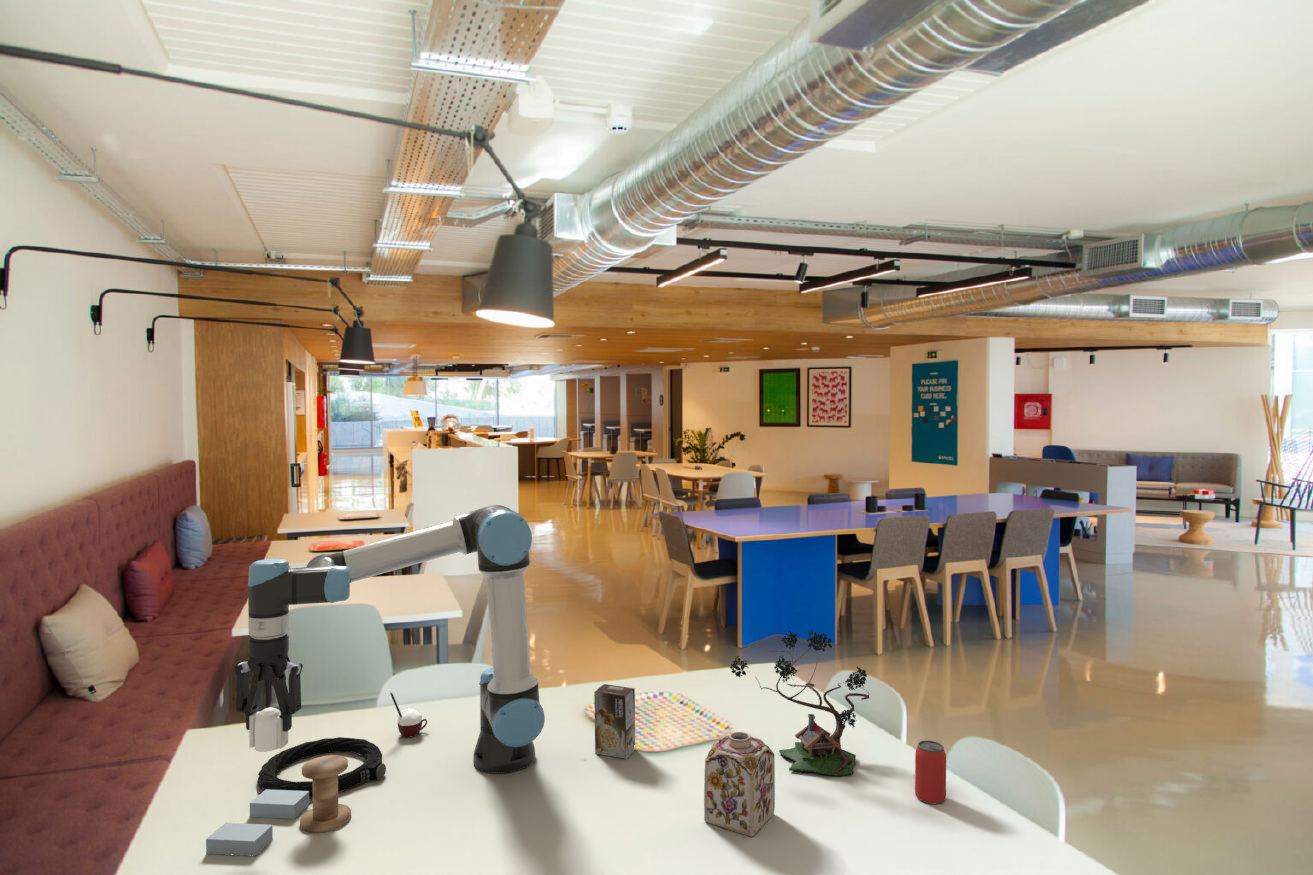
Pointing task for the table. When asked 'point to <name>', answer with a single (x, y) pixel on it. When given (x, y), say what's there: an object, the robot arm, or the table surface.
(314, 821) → the knob
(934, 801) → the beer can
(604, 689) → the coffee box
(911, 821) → the table surface
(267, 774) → the cable lock
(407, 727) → the cocoa
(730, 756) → the decorative jar
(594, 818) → the table surface
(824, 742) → the bonsai tree
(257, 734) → the capsule
